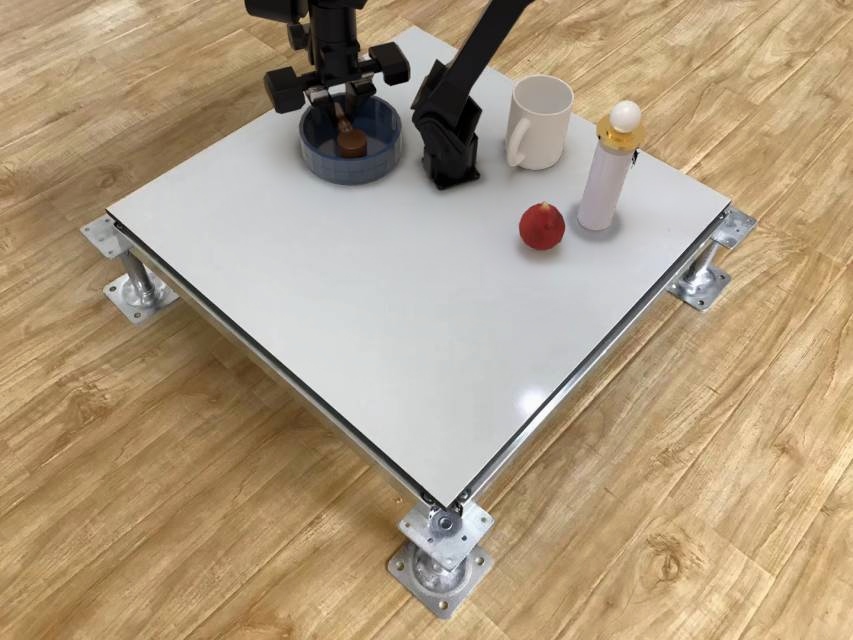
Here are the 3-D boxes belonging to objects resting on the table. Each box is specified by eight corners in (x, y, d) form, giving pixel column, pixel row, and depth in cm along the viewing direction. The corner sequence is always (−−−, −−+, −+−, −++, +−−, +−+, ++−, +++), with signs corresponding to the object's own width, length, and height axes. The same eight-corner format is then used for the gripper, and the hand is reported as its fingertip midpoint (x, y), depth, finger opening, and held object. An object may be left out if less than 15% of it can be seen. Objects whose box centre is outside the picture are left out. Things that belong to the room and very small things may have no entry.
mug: (529, 196, 106) (540, 139, 98) (479, 170, 109) (485, 113, 100) (571, 147, 112) (585, 90, 103) (522, 124, 114) (532, 66, 106)
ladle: (371, 160, 106) (370, 141, 104) (344, 167, 105) (342, 149, 103) (347, 115, 111) (346, 96, 109) (321, 122, 110) (319, 103, 108)
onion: (564, 236, 102) (575, 194, 96) (554, 268, 99) (564, 227, 92) (522, 224, 103) (530, 182, 96) (510, 255, 100) (518, 214, 93)
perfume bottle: (595, 244, 101) (632, 128, 85) (563, 219, 104) (593, 101, 87) (623, 223, 104) (665, 106, 87) (591, 199, 106) (626, 80, 89)
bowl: (380, 106, 116) (379, 82, 112) (416, 169, 108) (417, 145, 105) (289, 130, 112) (285, 105, 108) (321, 196, 105) (318, 172, 101)
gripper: (380, -22, 101) (383, 75, 114) (242, 8, 97) (261, 106, 110) (412, 26, 96) (411, 123, 109) (267, 61, 91) (284, 157, 104)
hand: (341, 125), depth 108 cm, fingers closed on ladle, 2 cm apart
